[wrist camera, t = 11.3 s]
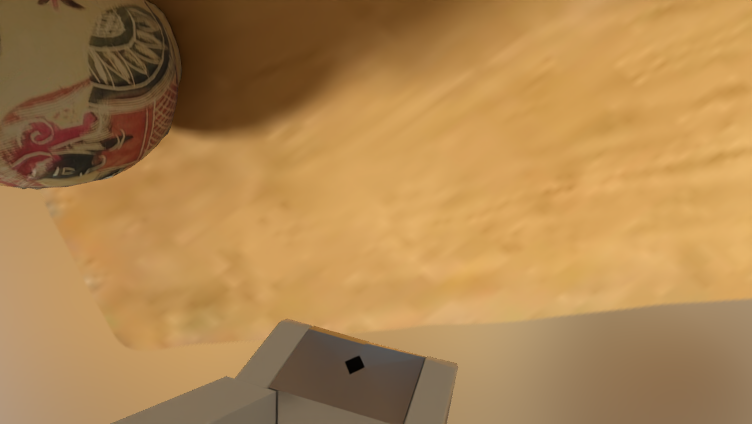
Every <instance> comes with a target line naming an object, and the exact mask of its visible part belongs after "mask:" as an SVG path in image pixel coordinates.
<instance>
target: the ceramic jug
mask: <svg viewBox="0 0 752 424" xmlns="http://www.w3.org/2000/svg"><path fill="white" fill-rule="evenodd" d="M181 74H182V68H181V60H180V54H179V48H178V46H177V43H176V40H175V37H174V35H173V32H172V29H171V27H170V25H169V23H168V21H167V19H166V17H165V15H164V13H163V12H162V11H161V10H160V9H159V8H158V7H157V6H156V5H154V4H152V3H150V2H147V1H146V0H0V185H1V186H10V187H18V188H22V189H26V188H32V189H41V188H48V187H68V186H73V185H77V184H82V183H87V182H91V181H96V180H102V179H107V178H110V177H113V176H115V175H117V174H118V173H120V172H123V171H125V170H127V169H128V168H130V167H132V166H133V165H135V164H136V163H138V162H139V161H140V160H142V159H143V158H144V157H145V156H147V155H148V154H149V153H150V152H151V151H152V150H153V149H154V148H155V147H156V146H157V145H158V144H159V142H160V141H161V140H162V138H163V137H165V136H166V135H167V134H168V132H169V130H170V128H171V124H172V120H173V116H174V112H175V108H176V104H177V97H178V85H179V82H180V79H181Z"/></svg>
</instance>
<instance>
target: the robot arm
mask: <svg viewBox="0 0 752 424" xmlns="http://www.w3.org/2000/svg"><path fill="white" fill-rule="evenodd" d="M457 369H458V366H457V363H454V362H449V361H445V360H441V359H437V358H433V357H425V356H421V355H417V354H413V353H409V352H405V351H402V350H398V349H394V348H390V347H386V346H382V345H378V344H374V343H370V342H368V341H364V340H361V339H357V338H354V337H350V336H347V335H344V334H340V333H337V332H333V331H330V330H326V329H323V328H319V327H316V326H311V325H308V324H304V323H301V322H297V321H293V320H290V319H285V320H283V321H281V322H279V323H278V325H277V326H276V327H275V328H274V330H273V331H272V332H271V333H270V335H269V336H268V337H267V338H266V340H265V341H264V342H263V344H262V345H261V346H260V347H259V349H258V350H257V351H256V352H255V354H254V355H253V356H252V357H251V359H250V360H249V361H248V362H247V364H246V365H245V366H244V367H243V369H242V370H241V371H240V372H239V374H238V375H237V376H236V378H235V379H233V378H230V377H227V376H226V377H224V378H221V379H219V380H216V381H214V382H212V383H209V384H206V385H204V386H202V387H199V388H197V389H194V390H192V391H189V392H187V393H184V394H182V395H180V396H177V397H175V398H172V399H170V400H168V401H165V402H163V403H160V404H158V405H155V406H153V407H150V408H148V409H145V410H143V411H141V412H138V413H136V414H133V415H131V416H128V417H126V418H123V419H121V420H119V421H116V422H114V423H111V424H447V419H448V414H449V409H450V404H451V399H452V394H453V389H454V383H455V379H456V373H457Z"/></svg>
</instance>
